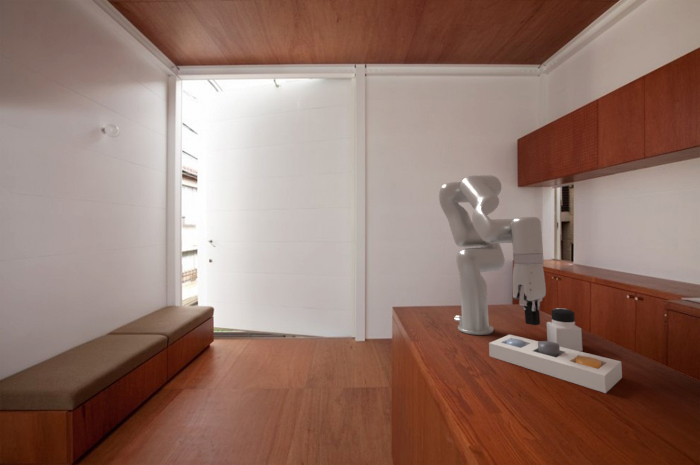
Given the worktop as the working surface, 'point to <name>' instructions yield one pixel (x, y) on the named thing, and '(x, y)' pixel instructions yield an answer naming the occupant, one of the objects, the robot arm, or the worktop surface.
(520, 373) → the worktop surface
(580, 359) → the orange button
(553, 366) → the frame
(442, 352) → the worktop surface
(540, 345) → the charcoal button
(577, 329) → the medicine bottle
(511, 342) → the slate button
